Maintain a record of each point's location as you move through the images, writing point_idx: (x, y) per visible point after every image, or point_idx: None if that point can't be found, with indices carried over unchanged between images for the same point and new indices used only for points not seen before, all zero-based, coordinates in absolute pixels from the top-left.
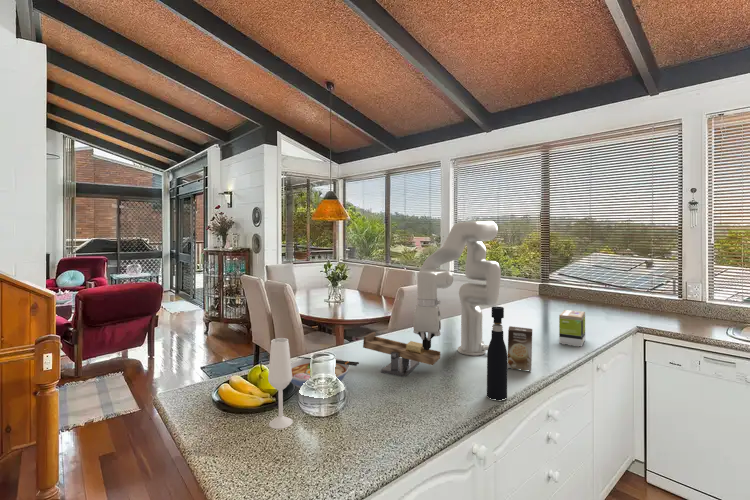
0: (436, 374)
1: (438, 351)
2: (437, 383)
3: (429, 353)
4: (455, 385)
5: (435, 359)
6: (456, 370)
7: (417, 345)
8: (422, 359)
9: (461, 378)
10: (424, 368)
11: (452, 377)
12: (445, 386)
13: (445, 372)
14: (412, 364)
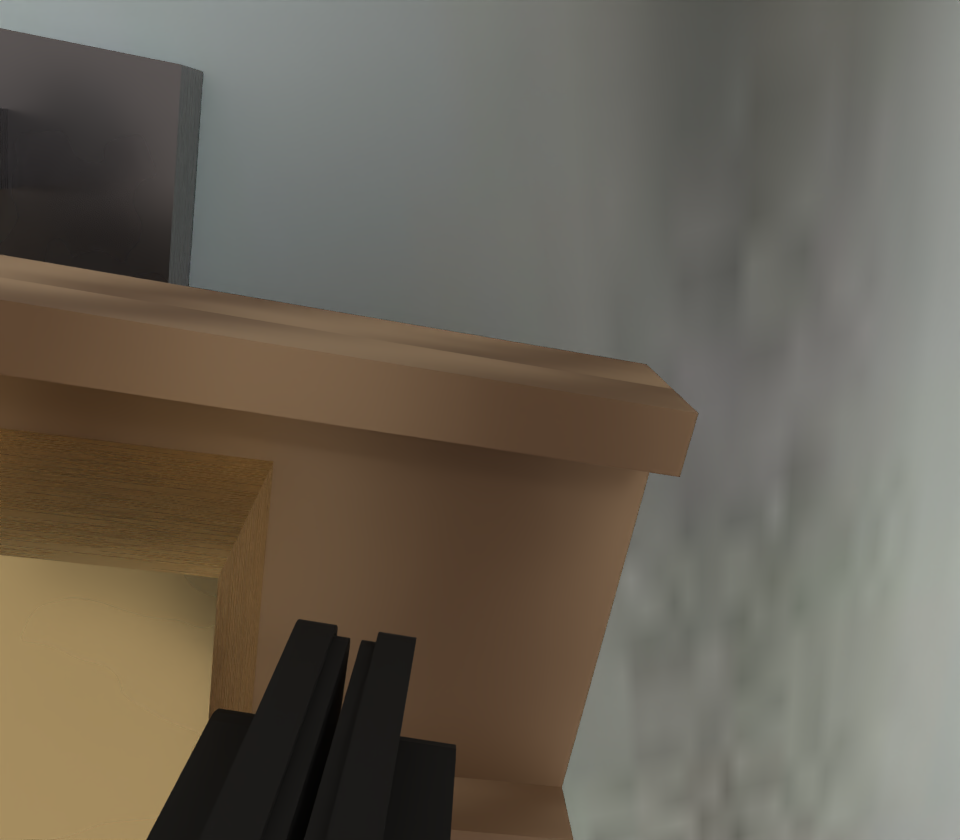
0: None
1: (642, 419)
2: (604, 770)
3: (408, 443)
4: (826, 777)
5: (582, 708)
6: (893, 239)
7: (39, 799)
8: None
9: (933, 553)
10: (345, 288)
11: (804, 548)
12: (703, 825)
13: (702, 380)
14: None
